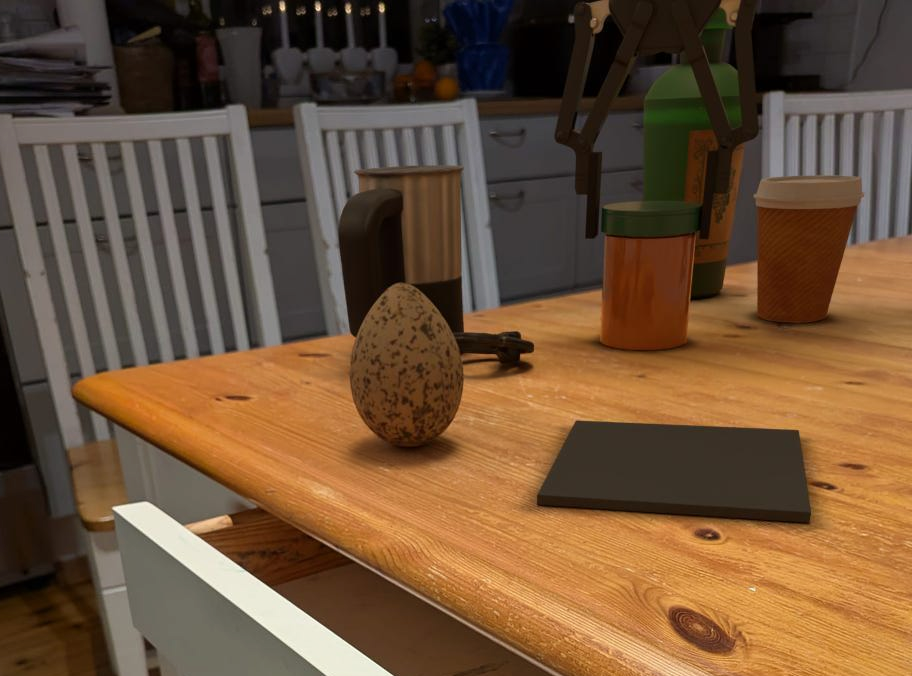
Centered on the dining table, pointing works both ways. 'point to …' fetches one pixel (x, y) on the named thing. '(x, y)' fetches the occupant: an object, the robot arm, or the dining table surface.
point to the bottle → (693, 150)
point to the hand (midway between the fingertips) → (647, 236)
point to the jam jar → (646, 291)
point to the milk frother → (412, 249)
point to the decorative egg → (406, 369)
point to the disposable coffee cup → (802, 243)
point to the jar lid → (651, 218)
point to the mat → (681, 471)
